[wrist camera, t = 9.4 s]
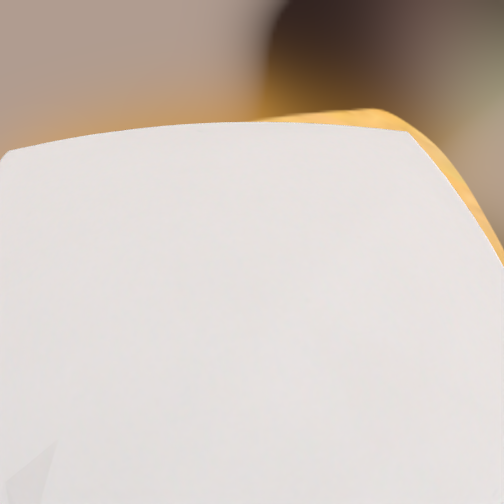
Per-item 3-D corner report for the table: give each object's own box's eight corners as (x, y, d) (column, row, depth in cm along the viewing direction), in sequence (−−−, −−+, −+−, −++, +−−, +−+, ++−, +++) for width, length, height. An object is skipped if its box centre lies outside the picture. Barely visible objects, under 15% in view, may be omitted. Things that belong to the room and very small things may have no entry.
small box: (302, 366, 15) (415, 126, 5) (320, 486, 11) (577, 462, 1) (141, 373, 15) (2, 143, 5) (143, 495, 11) (-112, 488, 1)
